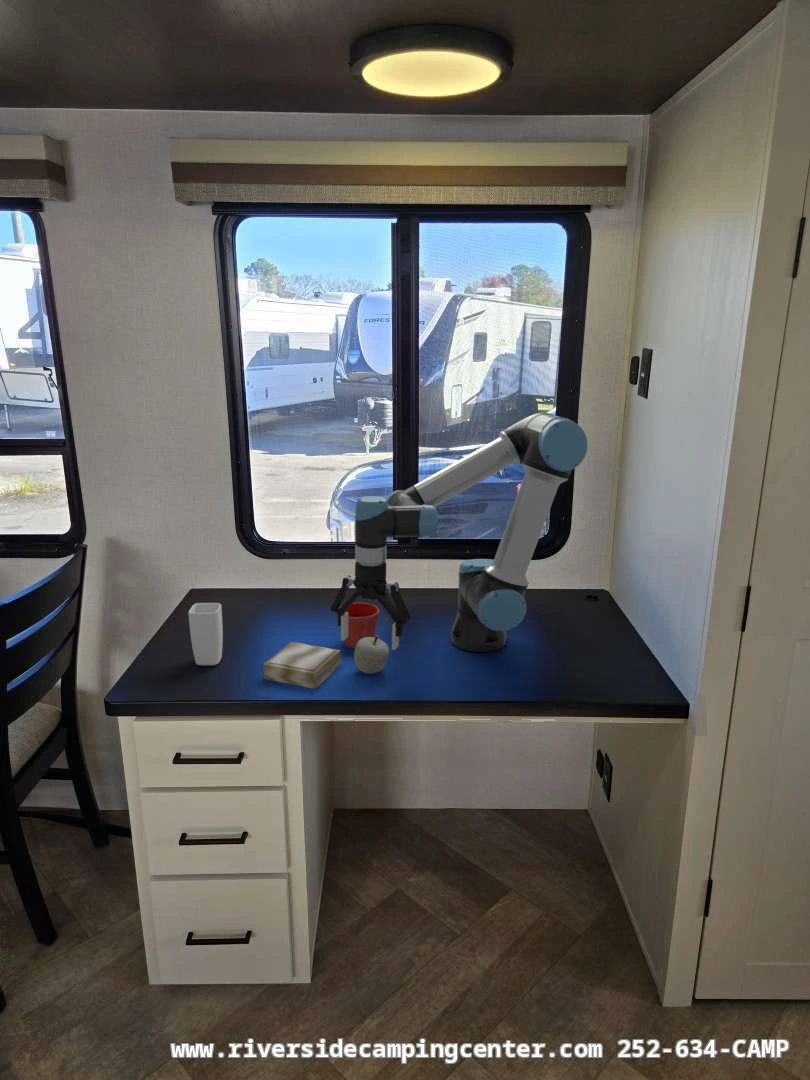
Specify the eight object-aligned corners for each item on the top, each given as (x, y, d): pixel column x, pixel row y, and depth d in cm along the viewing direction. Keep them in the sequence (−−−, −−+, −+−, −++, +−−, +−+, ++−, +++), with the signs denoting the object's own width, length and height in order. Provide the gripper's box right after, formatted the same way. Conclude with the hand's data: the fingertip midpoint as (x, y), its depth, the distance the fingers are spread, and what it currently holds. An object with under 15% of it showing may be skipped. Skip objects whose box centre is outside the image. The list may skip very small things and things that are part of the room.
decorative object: (349, 667, 186) (348, 631, 183) (381, 661, 189) (381, 626, 186) (361, 682, 178) (360, 645, 175) (394, 676, 181) (394, 639, 179)
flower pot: (374, 652, 194) (373, 618, 192) (334, 648, 197) (333, 615, 194) (383, 636, 204) (383, 604, 202) (345, 633, 207) (344, 601, 204)
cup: (198, 656, 192) (193, 602, 187) (226, 655, 192) (222, 602, 188) (191, 668, 185) (186, 613, 181) (220, 668, 185) (216, 613, 181)
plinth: (340, 664, 188) (340, 649, 186) (315, 688, 175) (315, 672, 174) (292, 655, 192) (291, 640, 191) (264, 678, 180) (263, 662, 178)
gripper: (425, 563, 175) (422, 645, 181) (330, 550, 183) (330, 629, 189) (414, 573, 168) (411, 657, 174) (316, 558, 176) (317, 640, 182)
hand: (369, 643), depth 181 cm, fingers open, 13 cm apart
